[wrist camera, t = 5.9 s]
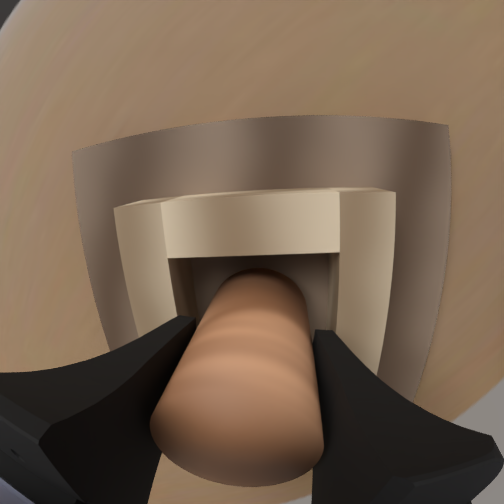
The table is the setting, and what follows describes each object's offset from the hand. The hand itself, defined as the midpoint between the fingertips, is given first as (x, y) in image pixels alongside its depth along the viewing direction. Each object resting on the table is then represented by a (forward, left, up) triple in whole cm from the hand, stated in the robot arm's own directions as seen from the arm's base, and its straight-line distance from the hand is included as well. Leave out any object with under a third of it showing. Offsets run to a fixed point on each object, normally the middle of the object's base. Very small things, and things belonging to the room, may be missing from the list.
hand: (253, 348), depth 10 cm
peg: (0, 0, -3) cm, 3 cm away
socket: (0, 0, -5) cm, 5 cm away
